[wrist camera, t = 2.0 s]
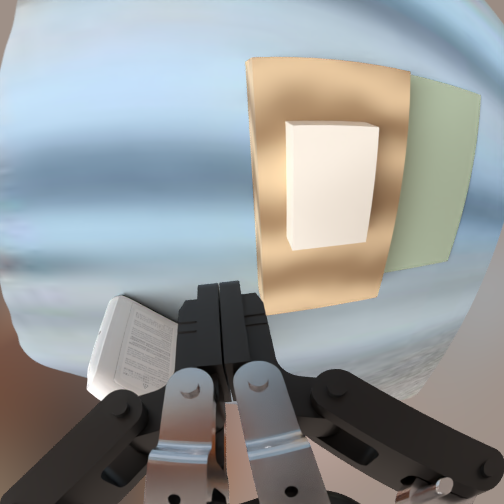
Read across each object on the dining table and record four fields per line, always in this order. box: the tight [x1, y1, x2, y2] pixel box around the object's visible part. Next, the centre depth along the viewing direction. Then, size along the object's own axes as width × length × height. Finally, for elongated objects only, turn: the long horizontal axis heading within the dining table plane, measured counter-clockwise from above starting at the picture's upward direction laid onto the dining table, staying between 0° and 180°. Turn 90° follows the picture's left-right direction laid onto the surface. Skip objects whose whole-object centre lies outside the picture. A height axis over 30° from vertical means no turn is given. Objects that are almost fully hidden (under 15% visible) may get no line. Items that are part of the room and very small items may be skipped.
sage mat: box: [384, 75, 481, 273], centre depth 26 cm, size 22×13×1 cm, turn 3°
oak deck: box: [245, 57, 410, 315], centre depth 23 cm, size 22×12×4 cm, turn 3°
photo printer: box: [87, 295, 178, 401], centre depth 26 cm, size 10×4×12 cm, turn 49°
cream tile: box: [285, 121, 379, 251], centre depth 20 cm, size 9×6×2 cm, turn 3°
